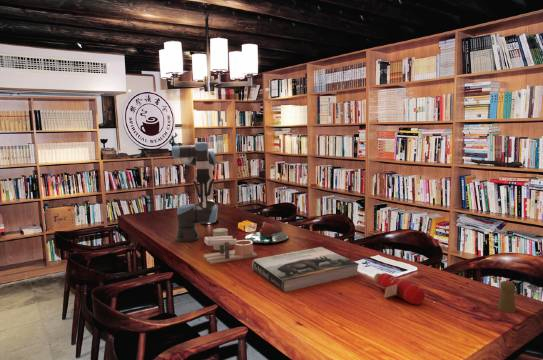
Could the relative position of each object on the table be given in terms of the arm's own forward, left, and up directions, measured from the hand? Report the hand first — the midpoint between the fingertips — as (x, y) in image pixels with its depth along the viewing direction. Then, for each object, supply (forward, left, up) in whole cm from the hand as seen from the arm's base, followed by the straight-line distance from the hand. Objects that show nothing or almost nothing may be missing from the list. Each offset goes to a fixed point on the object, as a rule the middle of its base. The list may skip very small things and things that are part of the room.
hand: (204, 207), depth 239 cm
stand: (+20, +9, -26) cm, 34 cm away
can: (+1, +9, -27) cm, 28 cm away
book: (+62, +34, -27) cm, 76 cm away
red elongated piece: (+104, +55, -27) cm, 121 cm away
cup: (+20, +17, -25) cm, 36 cm away
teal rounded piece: (-4, +42, -27) cm, 50 cm away
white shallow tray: (+17, +3, -18) cm, 24 cm away
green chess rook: (+134, +84, -27) cm, 160 cm away
